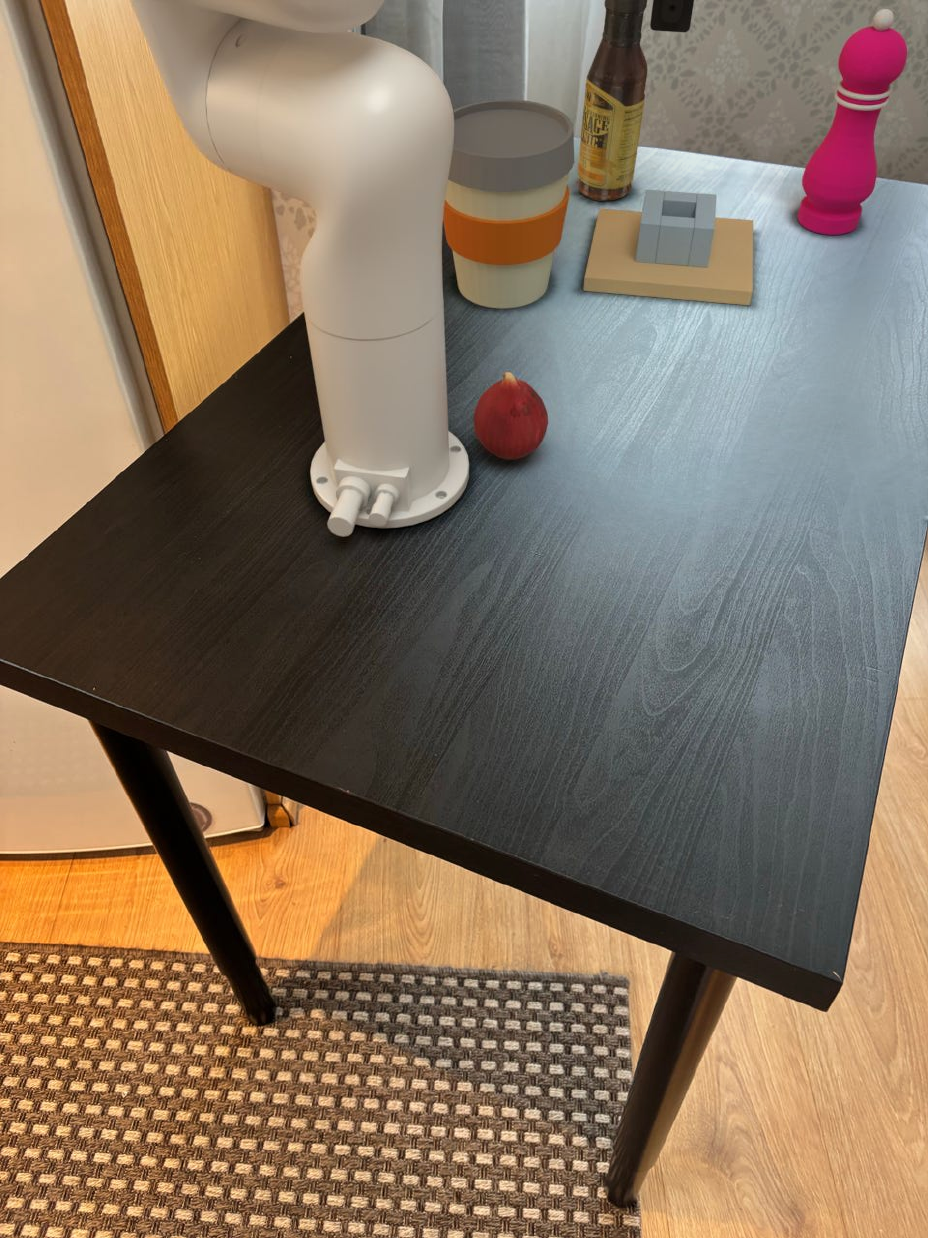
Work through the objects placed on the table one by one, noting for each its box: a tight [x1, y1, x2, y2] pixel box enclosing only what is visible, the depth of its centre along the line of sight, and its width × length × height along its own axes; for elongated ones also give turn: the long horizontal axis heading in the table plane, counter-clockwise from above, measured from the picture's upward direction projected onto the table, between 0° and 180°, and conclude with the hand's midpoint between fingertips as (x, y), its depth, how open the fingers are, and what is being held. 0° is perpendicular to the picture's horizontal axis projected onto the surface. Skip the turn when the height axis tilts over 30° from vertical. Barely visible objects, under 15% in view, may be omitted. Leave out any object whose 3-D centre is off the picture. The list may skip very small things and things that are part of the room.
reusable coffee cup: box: [443, 99, 576, 309], centre depth 90 cm, size 13×13×15 cm
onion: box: [472, 371, 549, 461], centre depth 76 cm, size 6×6×8 cm
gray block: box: [636, 188, 718, 268], centre depth 96 cm, size 7×7×4 cm
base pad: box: [582, 208, 754, 306], centre depth 97 cm, size 14×16×4 cm
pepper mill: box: [797, 8, 908, 236], centre depth 95 cm, size 7×7×20 cm
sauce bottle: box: [577, 0, 648, 202], centre depth 101 cm, size 6×6×20 cm
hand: (673, 10), depth 82 cm, fingers open, 9 cm apart
